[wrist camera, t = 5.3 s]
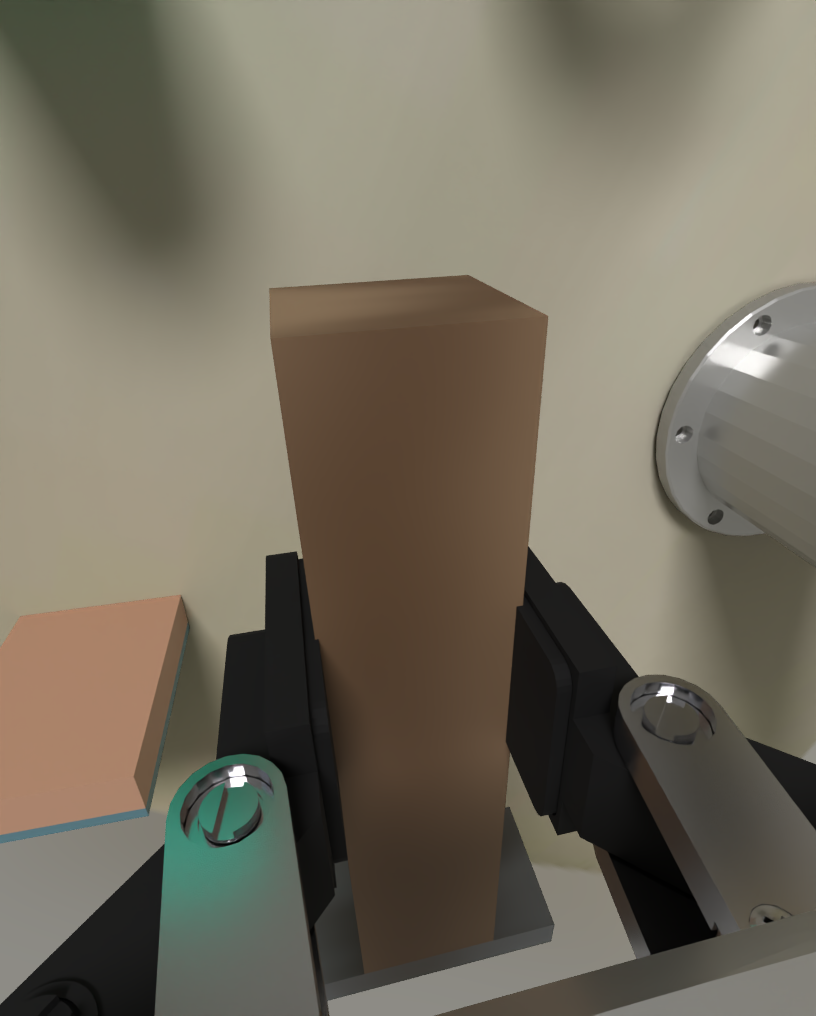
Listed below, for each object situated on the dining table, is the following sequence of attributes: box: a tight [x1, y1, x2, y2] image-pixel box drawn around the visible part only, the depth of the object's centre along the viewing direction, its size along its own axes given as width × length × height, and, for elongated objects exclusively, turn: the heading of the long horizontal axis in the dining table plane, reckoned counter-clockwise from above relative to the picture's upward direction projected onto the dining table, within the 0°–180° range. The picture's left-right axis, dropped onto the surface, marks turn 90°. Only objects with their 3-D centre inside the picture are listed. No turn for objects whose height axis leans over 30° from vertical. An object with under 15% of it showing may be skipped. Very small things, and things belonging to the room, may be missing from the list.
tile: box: [0, 595, 190, 843], centre depth 23 cm, size 7×2×10 cm, turn 92°
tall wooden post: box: [269, 275, 554, 1001], centre depth 11 cm, size 6×15×3 cm, turn 2°
